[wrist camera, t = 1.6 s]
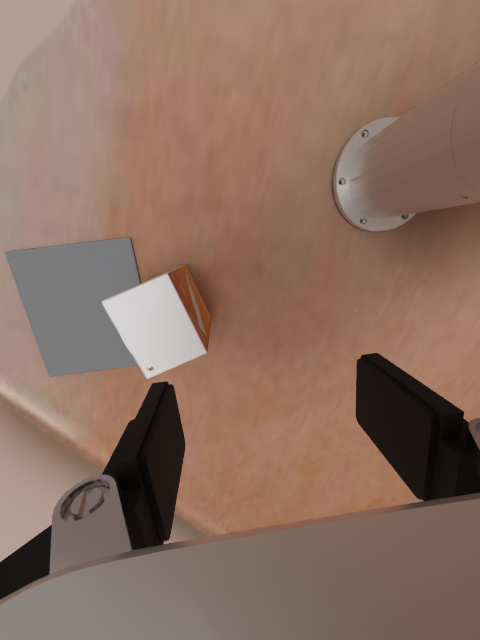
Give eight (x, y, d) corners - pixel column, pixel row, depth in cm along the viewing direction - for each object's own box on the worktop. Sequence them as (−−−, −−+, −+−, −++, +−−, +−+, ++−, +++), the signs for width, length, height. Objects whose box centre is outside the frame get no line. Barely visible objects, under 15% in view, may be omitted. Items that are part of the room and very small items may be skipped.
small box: (212, 317, 36) (209, 355, 23) (171, 335, 36) (145, 381, 24) (186, 262, 34) (167, 271, 21) (142, 281, 34) (97, 302, 21)
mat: (130, 237, 32) (129, 237, 32) (158, 361, 37) (157, 362, 37) (7, 251, 32) (4, 251, 31) (51, 375, 36) (49, 377, 36)
